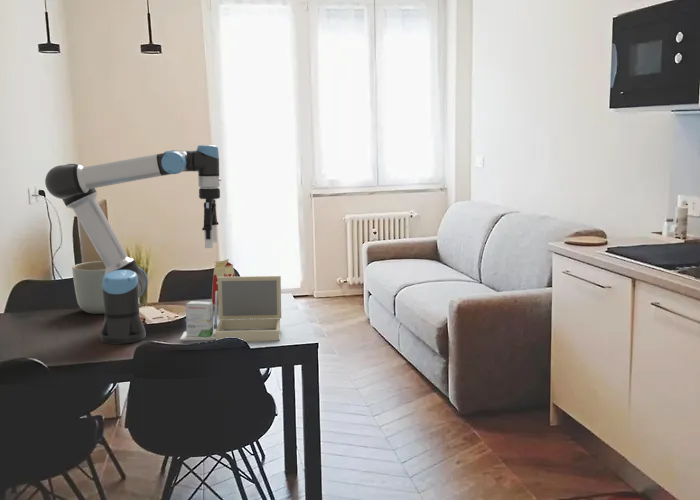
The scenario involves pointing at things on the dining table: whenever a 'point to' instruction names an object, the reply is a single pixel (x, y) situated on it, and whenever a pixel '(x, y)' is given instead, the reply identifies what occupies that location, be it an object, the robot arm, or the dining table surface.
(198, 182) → the robot arm
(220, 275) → the milk carton
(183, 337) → the pad
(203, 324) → the ink box
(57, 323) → the dining table surface
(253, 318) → the case
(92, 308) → the planter
